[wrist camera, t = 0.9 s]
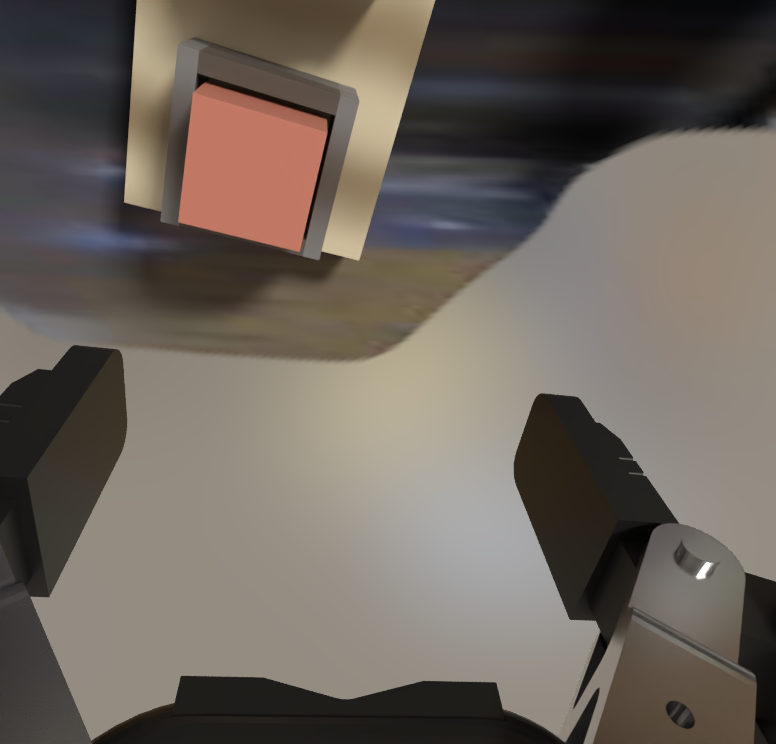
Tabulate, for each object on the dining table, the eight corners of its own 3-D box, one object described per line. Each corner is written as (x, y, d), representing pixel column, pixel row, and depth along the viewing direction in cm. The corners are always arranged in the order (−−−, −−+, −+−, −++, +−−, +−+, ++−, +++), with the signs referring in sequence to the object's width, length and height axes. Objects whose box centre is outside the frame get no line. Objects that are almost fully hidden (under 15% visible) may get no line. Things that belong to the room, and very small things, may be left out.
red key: (191, 199, 26) (178, 222, 24) (206, 81, 24) (193, 92, 21) (301, 227, 27) (299, 251, 25) (326, 117, 25) (327, 132, 22)
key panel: (356, 240, 34) (362, 288, 29) (139, 185, 31) (101, 227, 26) (484, -212, 24) (532, -270, 18) (181, -356, 21) (132, -473, 16)
